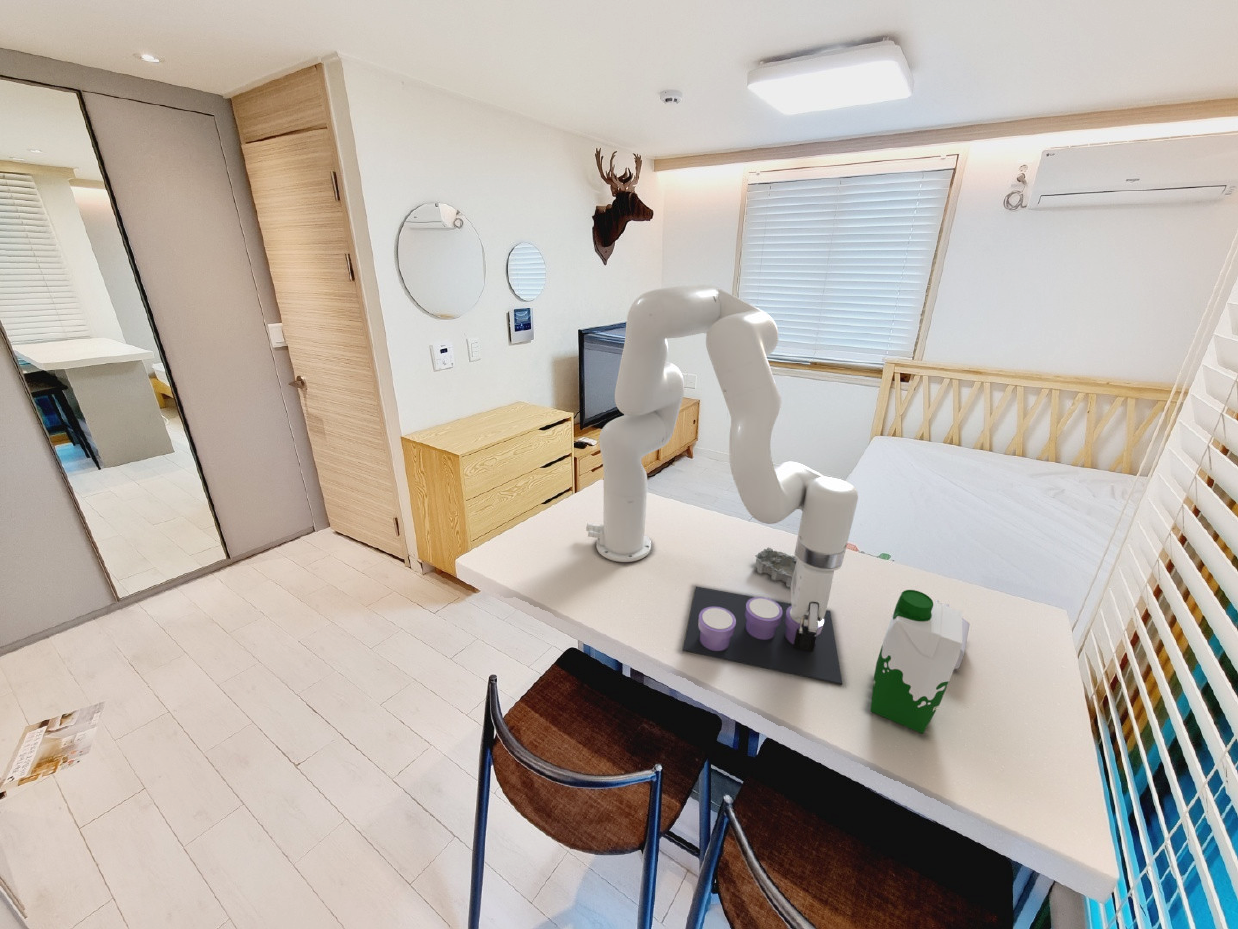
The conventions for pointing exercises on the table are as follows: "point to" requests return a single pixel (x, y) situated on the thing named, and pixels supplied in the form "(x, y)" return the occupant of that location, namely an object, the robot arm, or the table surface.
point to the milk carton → (916, 660)
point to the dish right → (797, 625)
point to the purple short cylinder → (716, 628)
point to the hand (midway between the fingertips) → (801, 632)
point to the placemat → (764, 641)
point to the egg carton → (776, 565)
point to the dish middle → (762, 617)
